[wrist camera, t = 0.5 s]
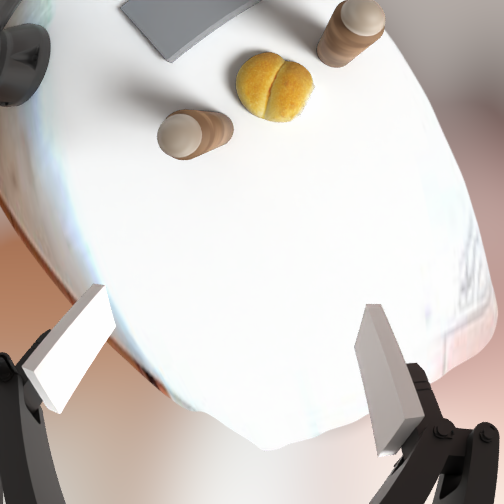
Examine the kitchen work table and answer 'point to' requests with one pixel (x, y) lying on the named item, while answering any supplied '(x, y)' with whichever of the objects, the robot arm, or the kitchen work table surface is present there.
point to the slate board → (181, 21)
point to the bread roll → (273, 87)
